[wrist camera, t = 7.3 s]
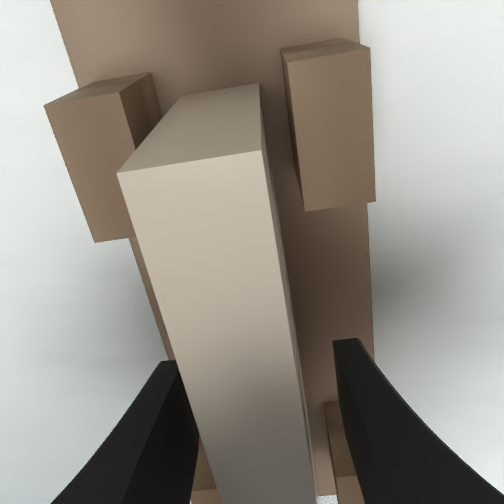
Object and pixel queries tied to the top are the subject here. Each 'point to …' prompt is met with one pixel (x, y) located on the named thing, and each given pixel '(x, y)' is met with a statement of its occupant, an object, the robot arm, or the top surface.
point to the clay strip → (225, 290)
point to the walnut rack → (280, 148)
